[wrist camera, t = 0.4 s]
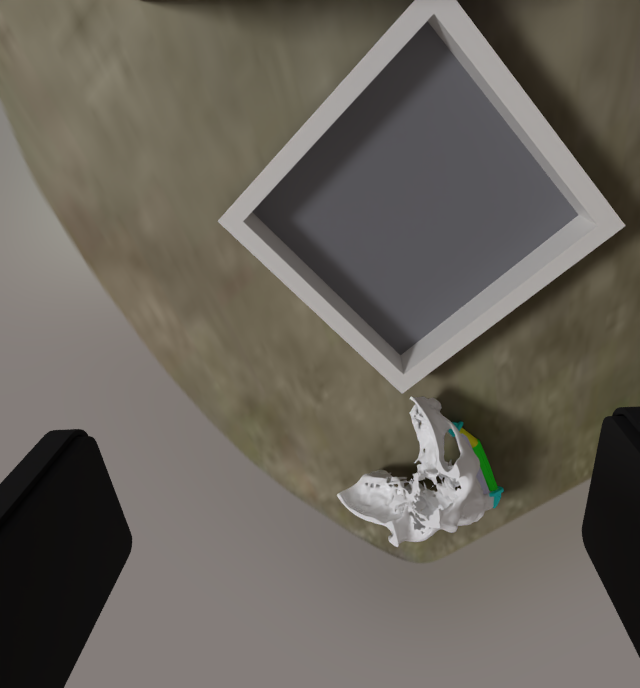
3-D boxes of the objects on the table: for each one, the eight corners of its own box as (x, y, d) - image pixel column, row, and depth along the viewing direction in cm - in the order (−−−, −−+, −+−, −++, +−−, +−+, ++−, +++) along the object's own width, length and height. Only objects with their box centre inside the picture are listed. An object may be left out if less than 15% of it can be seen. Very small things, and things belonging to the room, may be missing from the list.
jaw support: (459, 550, 46) (401, 584, 39) (398, 476, 50) (336, 495, 44) (544, 462, 41) (495, 484, 34) (467, 390, 45) (411, 396, 38)
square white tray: (428, -12, 29) (437, -26, 26) (599, 212, 34) (625, 225, 31) (230, 209, 36) (217, 221, 33) (398, 368, 41) (401, 393, 38)
